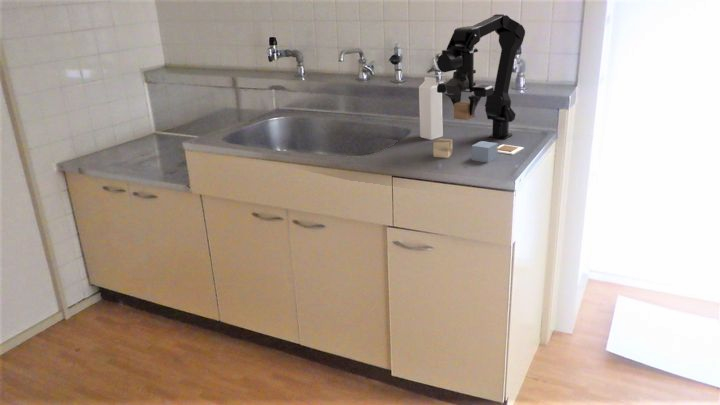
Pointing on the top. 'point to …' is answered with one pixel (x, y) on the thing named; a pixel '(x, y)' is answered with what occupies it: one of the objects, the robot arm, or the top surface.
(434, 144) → the maple block
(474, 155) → the base block
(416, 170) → the top surface
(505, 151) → the swatch
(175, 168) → the top surface
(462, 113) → the walnut block
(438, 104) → the milk
